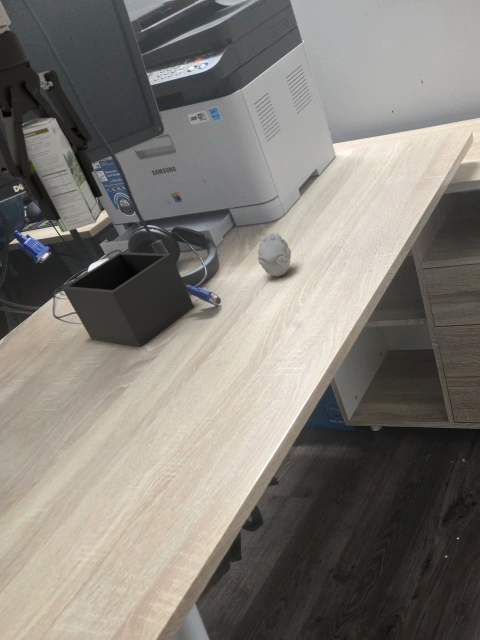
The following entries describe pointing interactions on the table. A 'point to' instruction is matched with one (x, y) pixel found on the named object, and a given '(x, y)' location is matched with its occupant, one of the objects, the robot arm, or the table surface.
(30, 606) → the table surface
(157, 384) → the table surface
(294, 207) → the table surface
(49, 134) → the syrup box
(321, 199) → the table surface
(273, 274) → the grey decorated egg
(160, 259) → the open box
